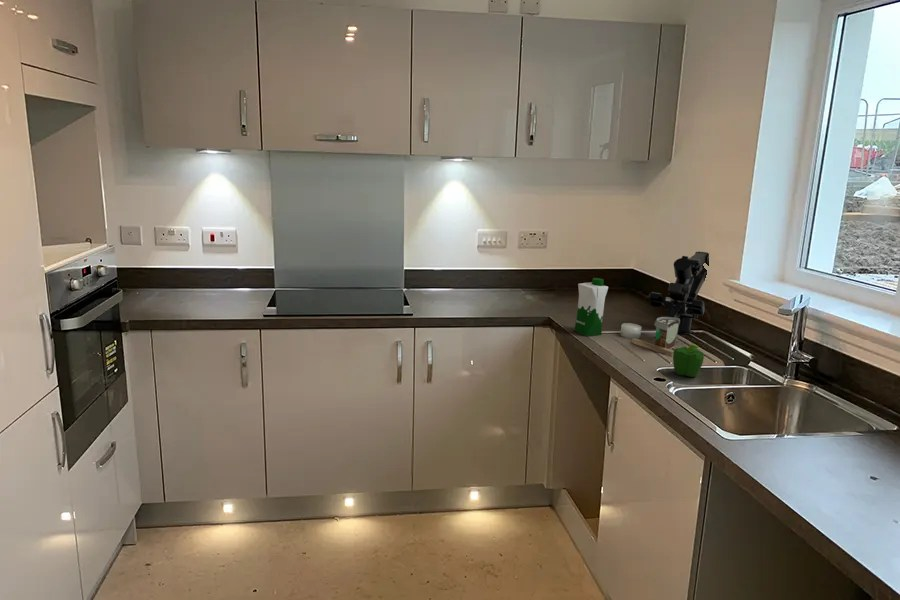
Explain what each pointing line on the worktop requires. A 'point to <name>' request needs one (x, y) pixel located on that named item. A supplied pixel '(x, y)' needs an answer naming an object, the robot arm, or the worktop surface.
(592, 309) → the milk carton
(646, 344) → the oak strip
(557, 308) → the worktop surface
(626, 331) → the white domed puck
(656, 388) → the worktop surface
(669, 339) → the food container
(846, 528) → the worktop surface
